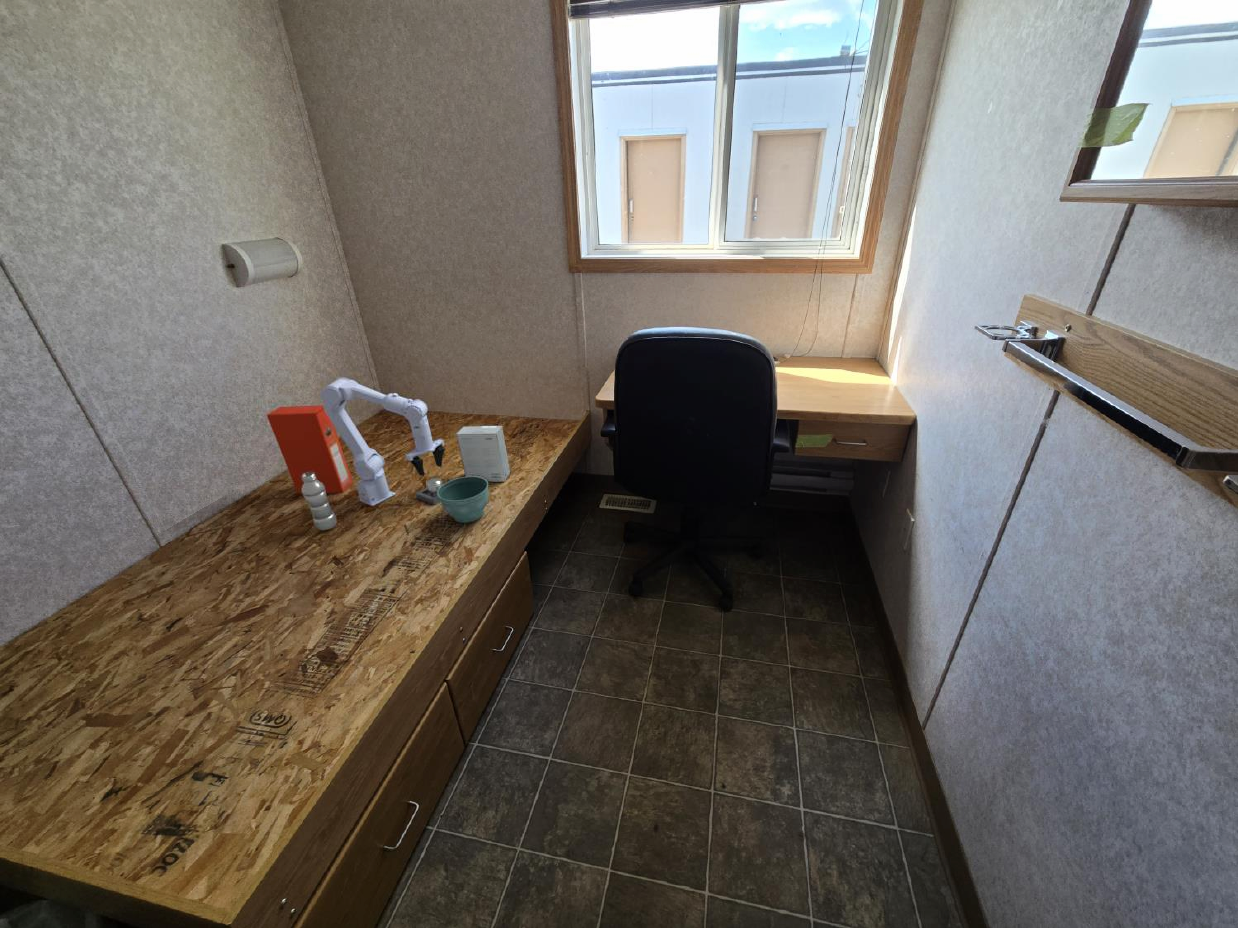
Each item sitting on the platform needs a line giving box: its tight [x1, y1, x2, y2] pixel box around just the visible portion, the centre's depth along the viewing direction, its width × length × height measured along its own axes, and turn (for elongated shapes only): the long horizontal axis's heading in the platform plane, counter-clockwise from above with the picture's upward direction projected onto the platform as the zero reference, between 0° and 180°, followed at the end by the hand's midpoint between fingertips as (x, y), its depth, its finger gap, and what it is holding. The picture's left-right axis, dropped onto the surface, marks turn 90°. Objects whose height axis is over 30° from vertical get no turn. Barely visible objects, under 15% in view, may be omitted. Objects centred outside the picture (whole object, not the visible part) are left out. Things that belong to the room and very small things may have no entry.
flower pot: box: [437, 476, 489, 524], centre depth 167 cm, size 16×16×11 cm
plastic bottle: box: [302, 472, 338, 531], centre depth 162 cm, size 6×7×20 cm
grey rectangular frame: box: [414, 482, 445, 506], centre depth 182 cm, size 10×10×2 cm
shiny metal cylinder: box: [426, 477, 443, 497], centre depth 181 cm, size 5×5×6 cm
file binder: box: [266, 404, 354, 495], centre depth 183 cm, size 8×17×32 cm, turn 89°
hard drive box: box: [455, 425, 511, 483], centre depth 188 cm, size 16×8×20 cm, turn 84°
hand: (430, 470), depth 178 cm, fingers open, 7 cm apart
